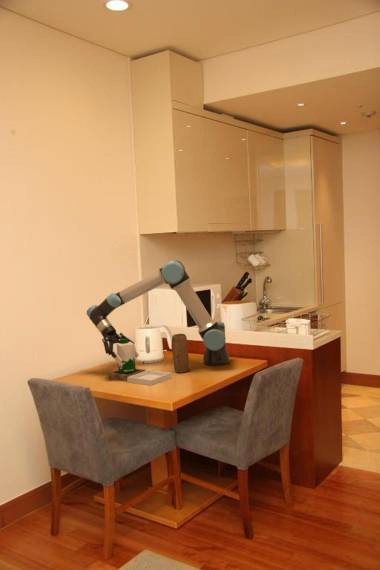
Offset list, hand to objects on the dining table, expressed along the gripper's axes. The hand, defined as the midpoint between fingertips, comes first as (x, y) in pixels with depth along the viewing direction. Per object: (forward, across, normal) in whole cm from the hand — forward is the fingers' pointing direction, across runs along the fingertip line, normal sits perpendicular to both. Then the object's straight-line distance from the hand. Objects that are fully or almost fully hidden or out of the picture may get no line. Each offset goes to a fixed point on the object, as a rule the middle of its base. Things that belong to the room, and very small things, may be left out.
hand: (129, 359), depth 286 cm
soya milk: (+6, 0, -8) cm, 10 cm away
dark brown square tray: (+6, 0, -8) cm, 10 cm away
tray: (+16, 0, +3) cm, 17 cm away
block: (+19, -22, +5) cm, 30 cm away
